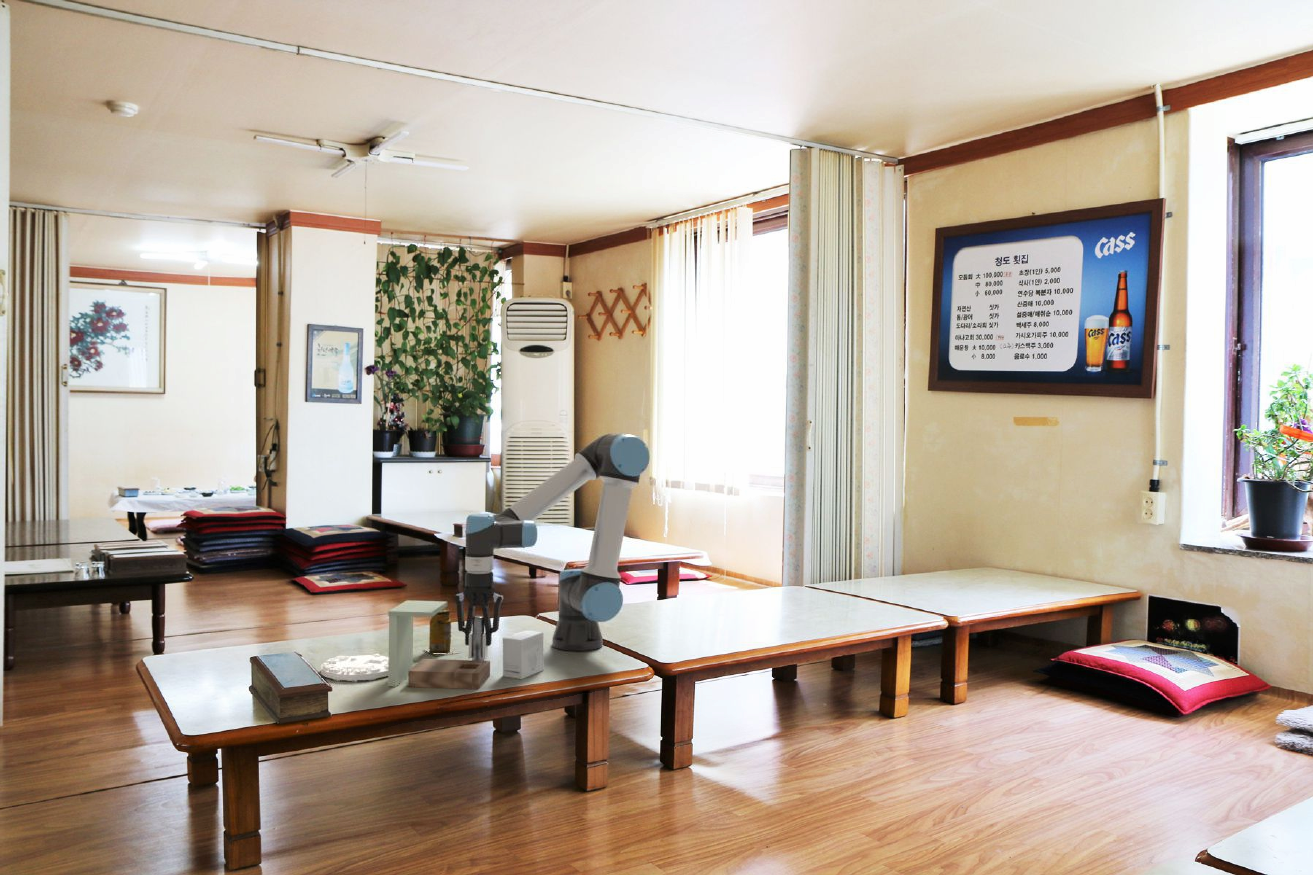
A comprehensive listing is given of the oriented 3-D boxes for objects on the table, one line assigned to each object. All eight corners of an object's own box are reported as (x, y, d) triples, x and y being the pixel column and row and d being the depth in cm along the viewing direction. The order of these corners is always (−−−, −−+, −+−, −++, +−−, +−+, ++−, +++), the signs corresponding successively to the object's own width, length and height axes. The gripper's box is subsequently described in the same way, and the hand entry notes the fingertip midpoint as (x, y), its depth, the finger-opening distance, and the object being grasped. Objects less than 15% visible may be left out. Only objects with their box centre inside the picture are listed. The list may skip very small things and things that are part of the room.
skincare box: (524, 667, 258) (525, 629, 257) (544, 670, 255) (544, 631, 254) (501, 676, 248) (501, 636, 248) (521, 679, 245) (521, 639, 245)
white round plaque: (414, 670, 253) (414, 660, 253) (357, 687, 237) (357, 676, 236) (362, 659, 264) (362, 649, 264) (304, 674, 247) (304, 663, 247)
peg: (485, 666, 257) (485, 615, 256) (482, 669, 254) (482, 618, 253) (473, 666, 257) (474, 615, 257) (470, 669, 254) (471, 618, 253)
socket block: (489, 675, 248) (490, 660, 248) (478, 689, 236) (478, 673, 236) (423, 673, 249) (423, 658, 249) (408, 686, 237) (408, 670, 237)
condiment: (445, 647, 278) (446, 606, 277) (459, 653, 271) (459, 611, 271) (422, 650, 273) (423, 609, 273) (435, 656, 267) (436, 614, 266)
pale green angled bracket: (446, 673, 250) (447, 601, 249) (430, 688, 236) (431, 612, 235) (405, 671, 250) (406, 600, 250) (387, 686, 236) (388, 611, 236)
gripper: (445, 572, 251) (444, 659, 252) (505, 574, 250) (504, 661, 251) (453, 568, 259) (452, 652, 259) (511, 569, 258) (510, 654, 258)
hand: (478, 657), depth 255 cm, fingers closed on peg, 3 cm apart
